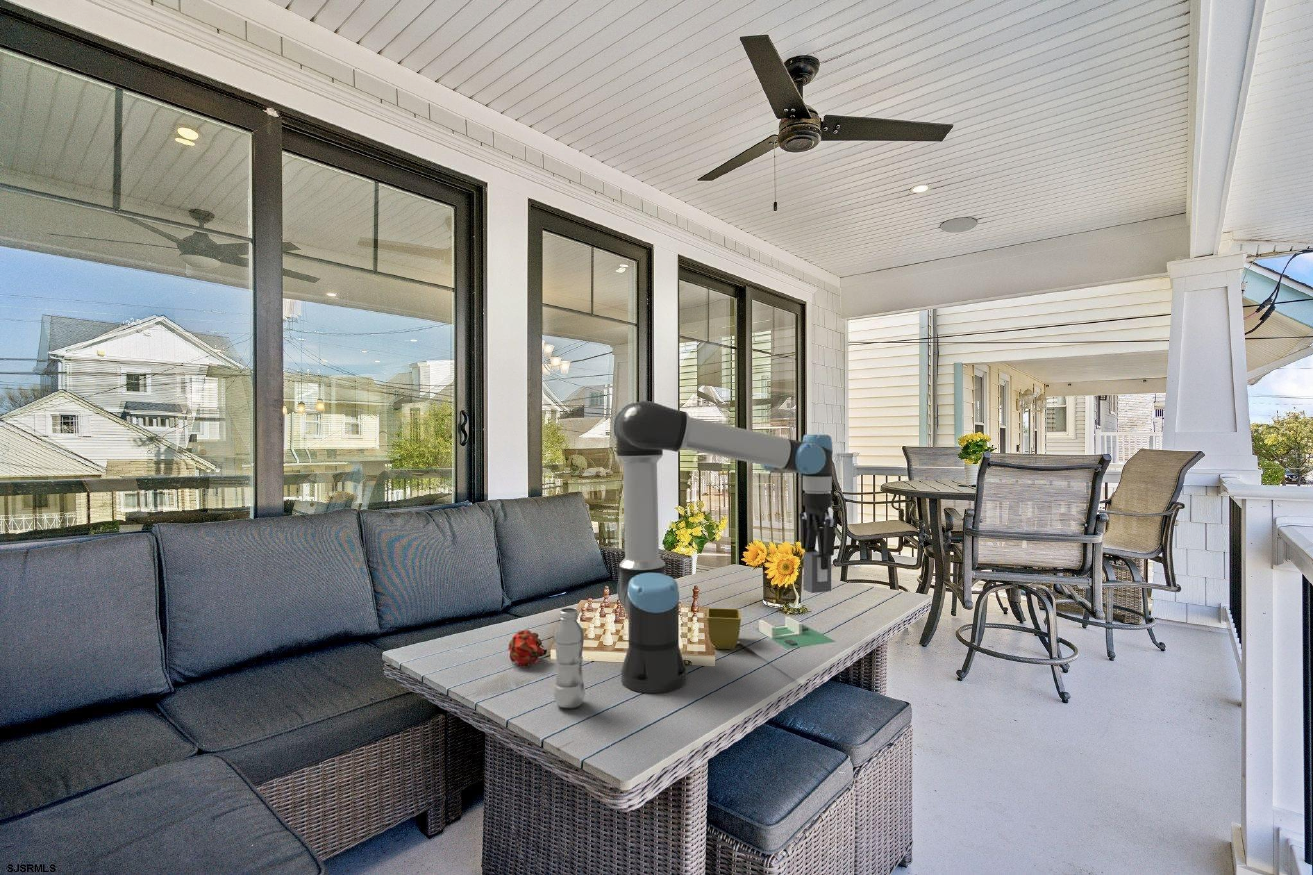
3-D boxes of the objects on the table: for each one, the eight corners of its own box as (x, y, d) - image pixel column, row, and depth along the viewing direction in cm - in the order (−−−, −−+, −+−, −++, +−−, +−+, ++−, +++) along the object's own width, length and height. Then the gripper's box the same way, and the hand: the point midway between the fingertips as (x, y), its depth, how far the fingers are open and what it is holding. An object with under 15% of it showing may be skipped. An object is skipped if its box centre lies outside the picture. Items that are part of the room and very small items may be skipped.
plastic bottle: (558, 714, 123) (557, 616, 123) (550, 701, 130) (549, 607, 129) (589, 708, 126) (588, 612, 126) (579, 696, 132) (579, 604, 132)
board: (787, 653, 157) (787, 636, 157) (754, 632, 173) (754, 618, 173) (836, 645, 162) (836, 630, 162) (799, 626, 178) (799, 612, 178)
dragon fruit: (519, 660, 158) (537, 682, 148) (494, 647, 153) (510, 669, 143) (539, 631, 159) (557, 651, 149) (514, 617, 155) (532, 637, 145)
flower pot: (739, 641, 166) (739, 608, 166) (741, 652, 158) (741, 618, 158) (707, 640, 167) (707, 607, 167) (707, 651, 158) (707, 617, 158)
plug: (812, 593, 160) (812, 555, 160) (803, 589, 164) (803, 552, 164) (833, 590, 162) (833, 553, 162) (824, 587, 166) (824, 550, 166)
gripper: (849, 494, 156) (848, 585, 156) (810, 488, 172) (810, 571, 172) (824, 495, 154) (824, 587, 154) (787, 489, 170) (787, 573, 170)
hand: (816, 578), depth 163 cm, fingers closed on plug, 4 cm apart
